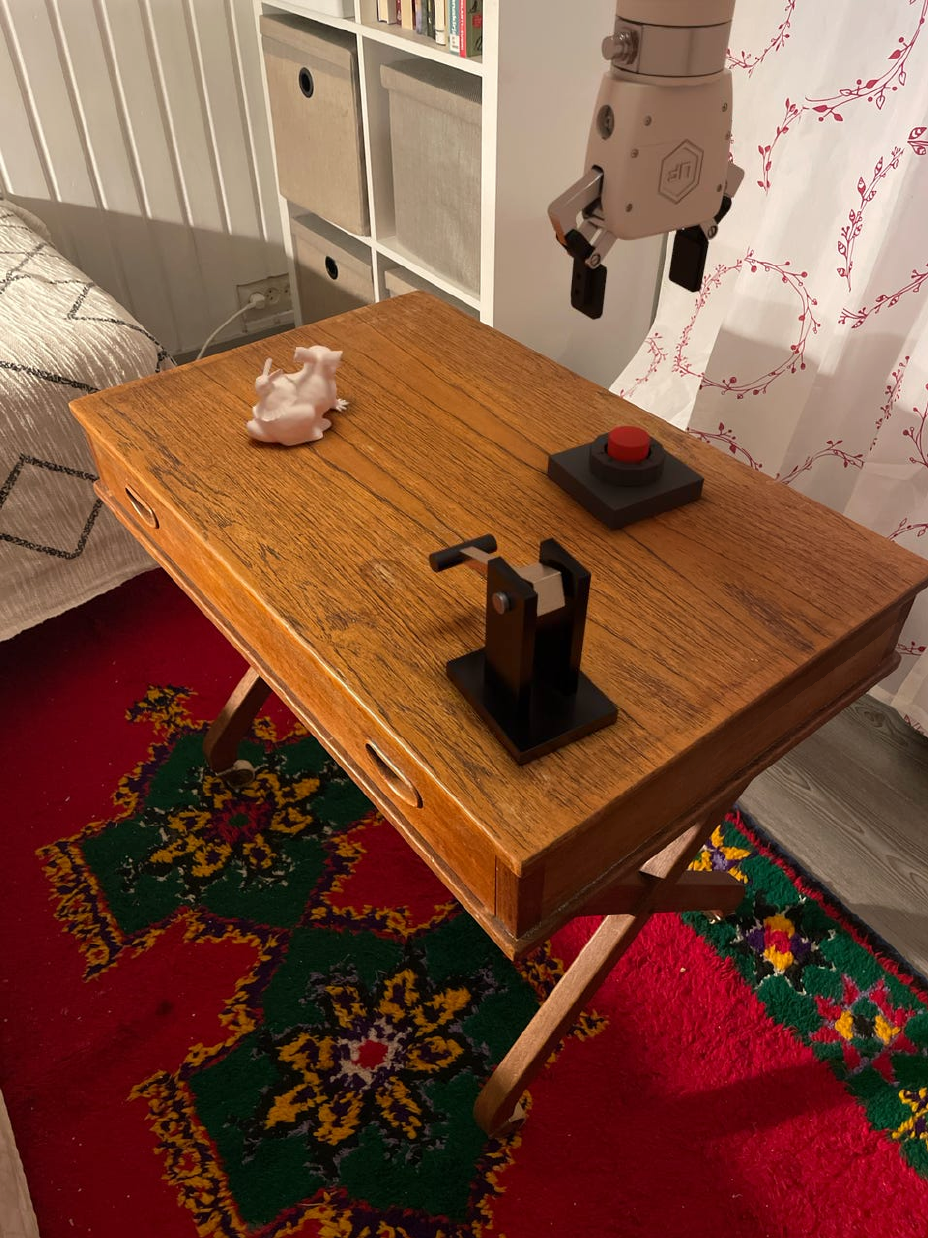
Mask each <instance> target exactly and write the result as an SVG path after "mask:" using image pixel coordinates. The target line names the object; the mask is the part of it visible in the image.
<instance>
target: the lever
mask: <svg viewBox="0 0 928 1238" xmlns="http://www.w3.org/2000/svg"><path fill="white" fill-rule="evenodd" d="M497 551H498V543H497V540H496V538H495V536H494V535H493V534H492V533H487V534H484V535H481V536H478V537H475V538H472V539H468V540H466V541H464V542H460V543H457V544H455V545H452V546H449V547H446V548H443V549H440V550H437V551H434V552H432V553H429V555H428V563H429V566H430V569H432V572H434V573H435V574H438V573H441V572H444V571H446V570H449V569H452V568H455V567H457V566H460V565H464V566H466V567H469V568H471V569H472V570H475V571H476V572H478V573H480V574H483V575H484V576H486V577H487V563H488V560H491V559H493V558H496V557H497V556H494V555H492V554H494V553H496V552H497ZM507 563H508V564H509V565H510V566H511V567H512V568H513V569H514V570H515V571H516V572H517V573H518V574H519V575H520V576H521V577H522V578H523V579H524V580H525V581H526V582H527V583H528V584H529V585H530V586H531V587H532V588H533V589H534V590H535V591H536V592H537V593H538V606H537V617H539V616H541V615H544V614H546V613H549V612H551V611H554V610H556V609H559V608H562V607H564V606H565V597H564V590H563V582H562V575H561V572H560V571H557V570H555V569H553V568H550V567H548V566H546V565H544V564H541V563H539V561H536V562H533V563H531V564H528V565H525V566H522V567H518V566H515V565H513V564H511V563H509V562H507Z"/></svg>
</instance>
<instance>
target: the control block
mask: <svg viewBox="0 0 928 1238" xmlns="http://www.w3.org/2000/svg"><path fill="white" fill-rule="evenodd" d="M610 432H611V431H609V432H605V433H602V434H599V435H597V437H596V438H595V439H594V440H593V441H590V442H587V443H584V444H581V445H577V446H574V447H571V448H568V449H565V450H562V451H559V452H556V453H552V454H550V455H549V454H548V456H547V457H548V458H547V461H548V462H547V471H546V472H547V473H546V477H548V478H549V479H550V480H551V481H553V482H554V483H555V484H556V485H557V486H558V487H559V488H561V489H562V490H563V491H564V492H565V493H566V494H567V495H569V496H570V497H571V498H572V499H573V500H575V502H577V503H578V504H579V505H581V506H582V507H583V508H584V509H585V510H586V511H587V512H588V513H590V515H592V516H593V517H595V518H596V519H597V521H599V522H601V524H603V526H605V527H606V528H607V529H608V530H609V531H610V532H614V531H616V530H619V529H622V528H624V527H627V526H630V525H632V524H635V523H638V522H641V521H643V520H646V519H648V518H652V517H654V516H656V515H659V514H662V513H665V512H668V511H670V510H673V509H676V508H678V507H682V506H684V505H687V504H690V503H692V502H695V501H697V500H700V499H701V497H702V492H703V488H704V483H705V477H703V475H701V474H699V473H698V472H696V471H695V470H694V469H692V467H690V466H689V465H687V464H686V463H684V462H683V461H681V460H680V459H679V458H677V457H676V456H674V454H672V453H670V452H669V451H668V450H666V449H665V448H664V445H663V444H662V443H661V442H660V441H658V440H657V439H656V438H654V437H652V435H650V443H649V450H648V456H647V458H646V459H645V460H643V461H640V462H622V461H619V460H615V459H613V458H611V457H610V456H609V455H608V453H607V448H608V440H609V433H610Z"/></svg>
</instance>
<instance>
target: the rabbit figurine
mask: <svg viewBox="0 0 928 1238" xmlns="http://www.w3.org/2000/svg"><path fill="white" fill-rule="evenodd" d="M294 352H295V353H294V354H293V355H294V356H293V359H292V363H297V364H298V363H302V364H303V366H302V368H301V370H300V371H298V372H294V373H283V372H284V370H283V369H282V368H278V369H277V370H275V371H273V372H271V373H270V374H269V372H270V369H271V366H272V364H273V359H272V358H271V357H269V358H267V359H266V361H265V364H264V367H263V371H262V374H261V375H259V376H258V377H256V379H255V383H254V392H255V394H256V395H258V396H259V401H258V402H257V403H256V404H255V405H254V406H252V416H253V417H252V418H253V419H252V420H248V421H247V422H246V431H247V433H248V434H249V435H250V436H251V437H252V438H253V439H256V440H257V441H260V442H264V443H280V444H282V445H284V446H296V445H299V444H303V443H307V442H313V441H318V440H320V439H322V438H323V437H324V435H323V432H324V431H326V430H328V429H329V428H330V427H331V426H332V422H331V421H330V419H328V418H324V417H323V415H324V414H325V413H326V412H328V411H329V410H330V409H332V410H336V411H337V412H338V413H339V412H341V413H342V410H343V411H345V410H347V408H346V406H348V405H349V404H350V401H349V402H348V401H347V400H346V399H344V400H343V398H338V399H337V395H338V389H337V384H336V381H335V376H336V373H337V369H339V368H340V367H341V366H342V365H341V357H342V355H343V354H344V351H343V350H338V351H337V350H333V351H332V350H331V349H330V348H328V347H326V346H323V345H312V346H311V347H309V348H307V347H302V346H299V347H298V346H295V350H294Z"/></svg>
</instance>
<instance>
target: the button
mask: <svg viewBox="0 0 928 1238" xmlns="http://www.w3.org/2000/svg"><path fill="white" fill-rule="evenodd" d="M609 432H610V433H609V440H608V448H607V453H608V455H609V456H610V457H611V458H613V459H615V460H619V461H622V462H640V461H643V460H645V459H646V458H647V456H648V450H649V443H650V436H651V435H650V433H649V432H648V431H646V430H645V429H643V428H641V427H637V426H634V425H621V426H616V427H614V428H613V429H611V430H610V431H609Z"/></svg>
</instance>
